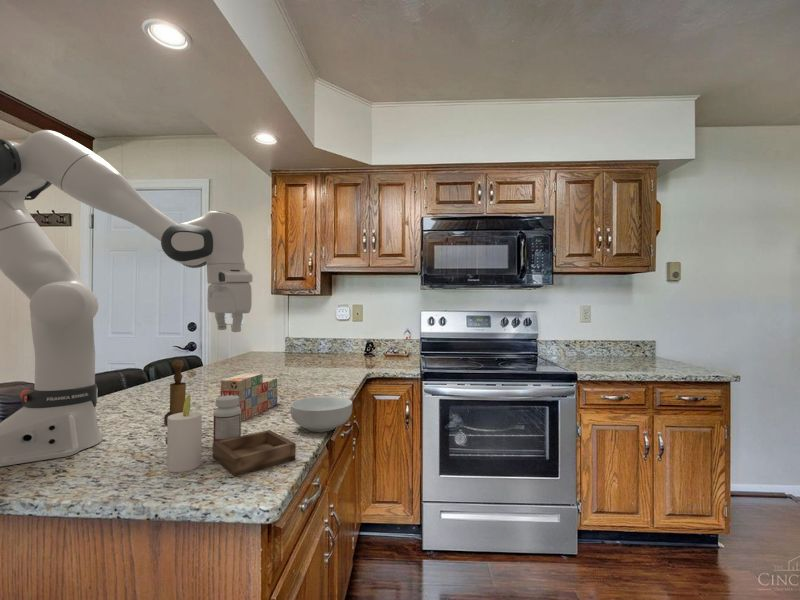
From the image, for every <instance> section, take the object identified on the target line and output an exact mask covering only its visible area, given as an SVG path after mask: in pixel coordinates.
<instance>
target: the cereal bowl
mask: <svg viewBox="0 0 800 600" xmlns="http://www.w3.org/2000/svg"><path fill="white" fill-rule="evenodd" d="M352 411H353V401H352V400H351V399H349V398H345V397H340V396H333V395H332V396H331V395H321V396H320V395H319V396H318V395H315V396H308V397H302V398H298V399H296V400H293V401H292V402H291V403H290V414H291V415H290V416H291V419H292V421H294V422H295V424H297V425H298V426H300V427H302V428H305V429H306V430H308V431H309V432H314V433H317V432H318V433H323V432H330V431H333V430H335V429H336V428H338V427H340V426H342V425H344V424H346V422H348V421H349V420H350V417H351V415H352V414H353V412H352Z"/></svg>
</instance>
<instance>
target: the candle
mask: <svg viewBox="0 0 800 600" xmlns="http://www.w3.org/2000/svg"><path fill="white" fill-rule="evenodd" d="M202 421H203V414H202V412H200V411H191V394H190V393H189V394H188V395H186V396H185V402H184V407H183V412H181V413H176V414H172V415H170V416H168V420H167V425H166V426H167V428H166V430H167V431H165V435H166V437H165V445H167V446H166V470H167V472H171V473H183V472H188V471H192V470H195V469H196V468H199V467H200V466H201V465H202V438H203V437H202V434H203V432H202V429H203V427H202V423H203V422H202Z"/></svg>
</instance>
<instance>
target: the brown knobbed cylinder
mask: <svg viewBox="0 0 800 600" xmlns="http://www.w3.org/2000/svg"><path fill="white" fill-rule="evenodd" d="M184 366H185V363H184V361H183V359H175V360H173V361H172V363H171V367H172V369H173V371H174V375H173V380H174V382H172V383H170V384H169V387H170V388H169V411H168V412H167V413H166V414H164V417H163V419H164V420H163V423H164V425H166V426H167V420H168V416H170V415H172V414H176V413H181V412H183V407H184V402H185V399H186V391H187V390H186V388H187V387H186V386H187V383H186V382H182V380H183V374H182V370H183V368H184Z"/></svg>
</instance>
